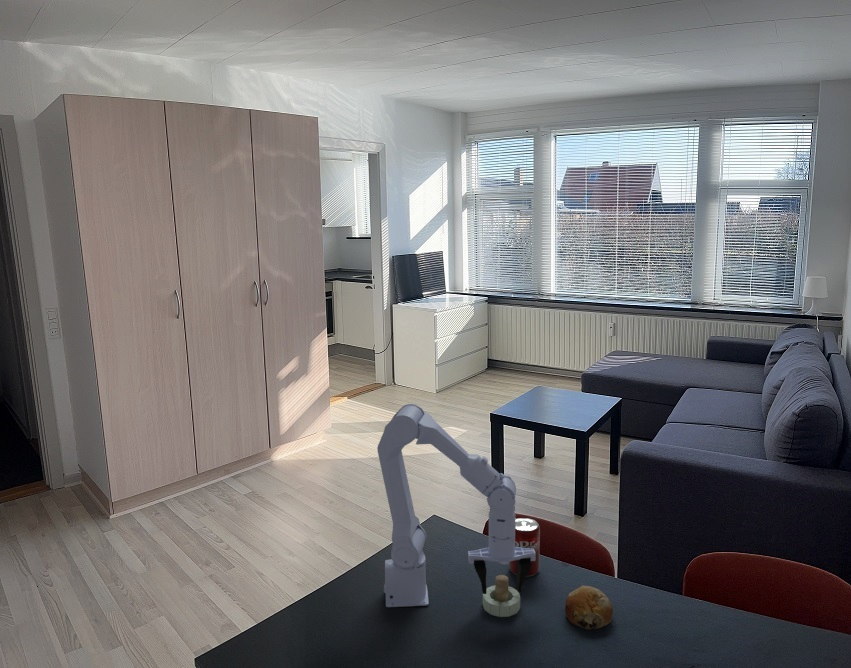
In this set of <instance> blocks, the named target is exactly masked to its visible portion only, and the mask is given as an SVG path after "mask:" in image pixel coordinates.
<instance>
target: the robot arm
mask: <svg viewBox="0 0 851 668" xmlns="http://www.w3.org/2000/svg"><path fill="white" fill-rule="evenodd" d="M415 439H417V440H416V443H415V445H431V446H433V447H434V448H435V449H437V451H439V452H441V454H443V455H444V456H445V457H446V458H447V459H449V460H450V461H452V462H453V463H454V464H456V465H457V466H458V467H459V472H460V476H461V477H462V478H463V479H465V481H467V482H468V483H469V484H470V485H472V486H473V487H474V488H475V489H476V490H477V491H478V492H479V493H481V494H482V495H483V496H485V497H486V502H487V505H488V507H489V511H488V547H484V548H480V549H475V550H468V551H467V559H468V560H467V561H468V564H469V565H472V564H473V565H474V566H473V567H474V569H475V572H476V574H477V576H478V578H479V580H480V581H479V582H480V584H481V591H482V595H483V594H486V591H487V590H486V589H487V573H488V572H487V567H486V565H487V564H486V562H495V563H499V564H500V565H509V562H510V561H514V560H516V564H517V575H516V576H515V577H516V579H515V580H516V581H515V585H516V586H515V588H516V590H517V591H518V593H519V594H520V593H522V590H523V586H524V584H525V580H526V578H527V577H526V576H527V574H528V573H529V571H530V570H531V562H530V561H535V560H536V553H535V550H534V549H529V548H520V547H515V519H516V496H517V495H516V494H517V485H516V483H515V481H514V480H513V478H511V476H509V475H506V474H504V473H502V472H500V473H499V471H498V470H496V469H495V468H494V467H493V466H491V465H490V464H489V463H488V462H489V459H488V458H487V457H486V456H483V457H481V456H480V455H479V454H476V453H475V454H473V453H471V454H470V453H468V452H467V451H466V450H465V449H464V448H463V446H461V445H460V444H459V442H457V441H456V440H455V439H454V438H453V437H452V436H451V435H450V434H449V433H448V432H447V431H446V430H445V429H444V428H443V427H442V426H441V425H440V424H439V423H438V422H437V421H436V419H434V417H433V416H432V415H431V414H430V413H429V412H426V411H425V410H424V409H423V408H422V407H421V406H420V405H417V404H415V403H407V404H404V405H403V406H402V407H401V408H399V410H398V411H397V412H396V413H395V414H394V415H393V417H392V418H391V419H390V421H388V423H387V424H386V425H385V426H384V429H383V432H382V435H381V437H380V440H379V441H378V444H377V454H378V458H379V459H378V460H379V464H380V469H381V475H382V478H383V479H382V480H383V482H384V489H385V493H386V498H387V501H388V507H389V511H390V515H391V516H390V517H391V521H392V532H391V542H392V547H391V551H390V557H391V558H390V559H385V561H384V578H385V579H384V583H385V584H383V593H384V594H385V607H386V608H399V607H400V608H402V607H420V606H428V605H430V604H429V591H428V585H427V582H426V581H427V579H426V578H427V576H426V575H427V574H426V573H427V572H426V565H427V563H426V555H425V553H424V550H423V549H424V546H425V545H426V543H427V539H428V538H427V532H426V530H425V529H424V528H423V527H422V525H421V523H420V519H419V517H417V516H416V513H415V509H414V505H413V500H412V499H413V498H412V495H411V489H410V486H409V485H410V484H409V480H408V474H407V470H406V466H405V460H404V456H403V451H402V450H403V449H404V448H405V446H407V445H409V444H411V443H412V442H414V441H415Z"/></svg>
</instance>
